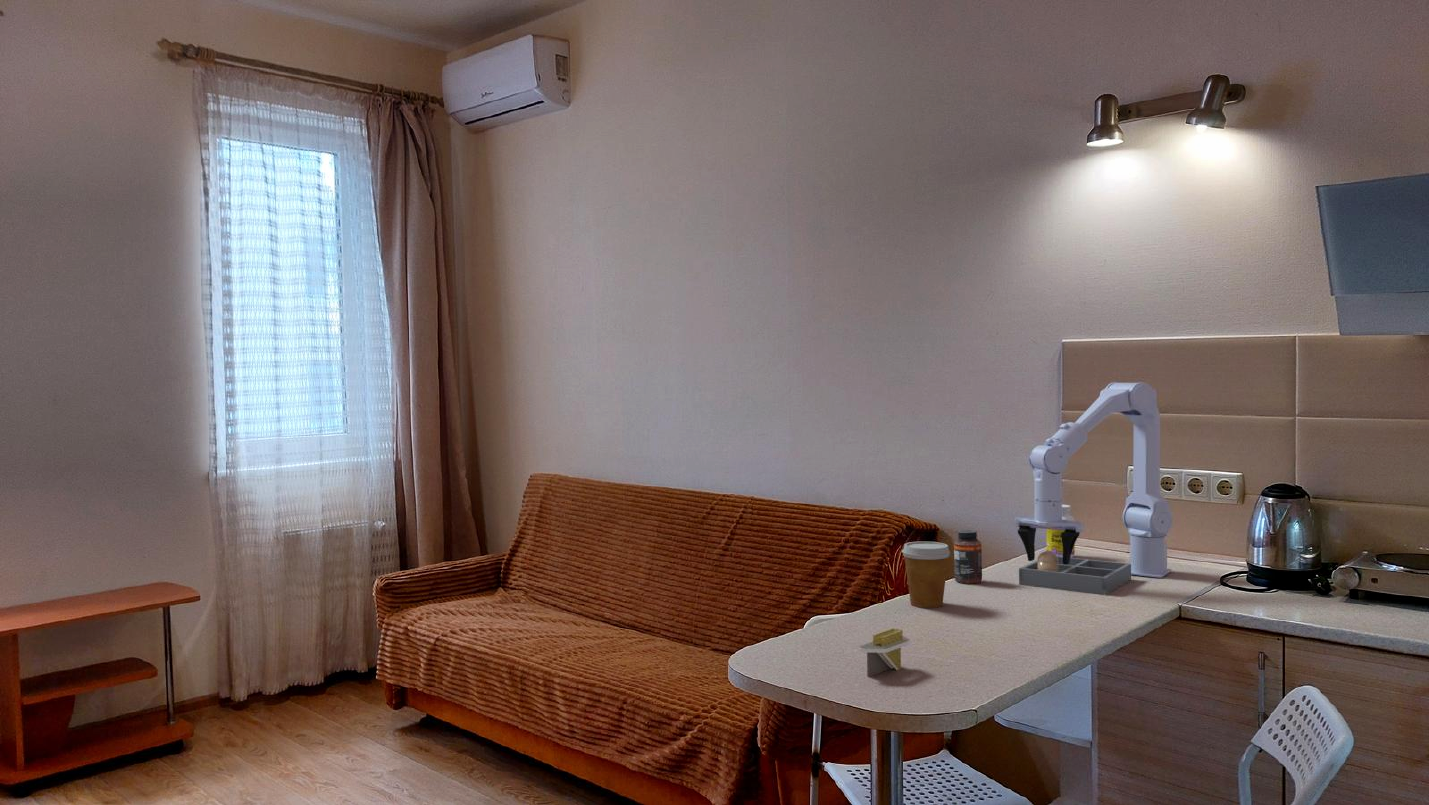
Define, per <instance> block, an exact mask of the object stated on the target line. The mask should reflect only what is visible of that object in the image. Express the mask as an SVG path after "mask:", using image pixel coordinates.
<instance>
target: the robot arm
mask: <svg viewBox="0 0 1429 805" xmlns="http://www.w3.org/2000/svg"><path fill="white" fill-rule="evenodd" d="M1099 393H1100V394H1099V396H1098V398H1097V399H1096V400H1095V401H1094V402H1093V403H1092V404H1091V405H1090V406H1089V407H1088V408H1087V409H1086V410H1085V411H1084V413H1083V414H1082V415H1081V416H1080V417H1078V419H1076V421H1075V422H1071V421H1069V422H1066V423H1062V424H1061V425H1059V428H1060V429H1058V431H1056V432H1055V433H1054V434H1053V435H1052V436H1051V437H1050V438H1047V439H1046V440H1045V442H1044V444H1040V445H1037V446H1035V447H1034V448H1033V449H1032V451H1031V453H1030V455H1029V457H1028V458H1027V461H1028V464H1029V466H1030V468H1031V469H1032V477H1034V479H1033V480H1034V482H1033V483H1034V490H1033V491H1034V493H1033V495H1034V497H1033V498H1034V517H1021V516H1019V517H1015V518H1014V522H1013V523H1014V528H1018V529H1017V534H1018V535H1019V537H1020V539H1021V541H1022V544H1023V546H1024V549H1025V553H1026V557H1027V561H1028V562H1034V561H1035V559H1036V550H1035V548H1036V547H1035V543H1036V542H1035V541H1036V540H1035V539H1036V531H1037V529H1042V530H1045V529H1046V530H1047V529H1053V530H1065V532H1062V533H1061V537H1062V544H1063V565H1067V564H1069V561H1070V556H1071V553H1072V549H1073V547H1074V544H1075V545H1076V542H1077V541H1078V538H1079V536H1080V533H1082V532H1084V522H1082V521H1081V522H1080V521H1075V522H1074V521H1067V520H1062V505H1063V481H1062V480H1063V476H1062V475H1063V471H1064V470H1066V469H1067V467H1068V464H1069V459H1071V457H1072V455H1073V454H1075V453H1076V452H1077V451H1078V450H1079V449H1080V448H1081V447H1082V446H1083V445H1084V444H1085V443H1086V442H1088V433H1089V432H1090V431H1092V430H1093V429H1094V428H1095V427H1097V426H1098V425H1099V424H1100V423H1101V422H1103V421H1105V419H1107V418H1108V417H1109V416H1110V415H1111V414H1113V413H1120V414H1121V415H1124V417H1126V418H1127V419H1128V420H1129V421H1131V422H1132V423H1133V424H1132V425H1133V469H1132V470H1133V472H1132V474H1133V475H1132V476H1133V479H1132V480H1133V482H1132V483H1133V485H1132V486H1133V487H1132V488H1133V490H1132V493H1131V494H1129V495H1128V497H1126V498H1125V506H1124V510H1123V512H1122V516H1121V517H1122V522H1123V525H1124V527H1125V528H1126V529H1127V533H1128V534H1129V559H1130V560H1129V564H1131V576H1138V577H1140V576H1142V577H1148V578H1149V577H1150V578H1158V579H1162V578H1163V577H1165V576H1167V575H1168V574H1170V573H1171V572H1172V571H1173V569H1172V568H1168V543H1167V540H1166V537H1167V536H1168V533H1170V531H1171V529H1172V526H1173V522H1174V521H1173V515H1172V513H1171V510H1170V502H1169V501H1168V500H1167V499H1166V498H1165V497H1164V496H1163V495H1162V493H1161V490H1160V487H1161V485H1160V484H1161V481H1160V480H1161V478H1160V477H1161V474H1160V473H1161V460H1160V459H1161V414H1160V411H1159V408H1158V404H1157V396H1158V394H1157V391H1156V389H1154V388H1153V387H1152V386H1151V385H1150V384H1148V383H1147V382H1143V381H1142V382H1141V381H1140V382H1118V381H1114V382H1113V381H1112V382H1110V383H1109V384H1107V386H1106V387H1105V388H1103V389H1102V390H1101V391H1099ZM1049 526H1056V527H1049ZM1061 527H1062V528H1061Z"/></svg>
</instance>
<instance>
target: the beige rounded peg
mask: <svg viewBox="0 0 1429 805" xmlns="http://www.w3.org/2000/svg"><path fill="white" fill-rule="evenodd" d="M1036 561H1037V570H1045V571H1054V572H1059V561H1058V557H1057V556H1056V555H1055V554H1054V553H1053V552H1050V551H1047V550H1044V551H1042V552H1041V553H1040V554H1039V555H1038V556H1037V560H1036Z"/></svg>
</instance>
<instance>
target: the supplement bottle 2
mask: <svg viewBox="0 0 1429 805" xmlns="http://www.w3.org/2000/svg"><path fill="white" fill-rule="evenodd" d="M1071 510H1072V509H1071V505H1069V504H1062V520H1067V521H1074V522H1076V520H1075V518H1074V516H1072V515H1071V514H1070V513H1071ZM1049 527H1056V526H1049ZM1061 528H1062V527H1061ZM1062 532H1065V530H1053V529H1046V550H1045V551H1050V552H1053V553H1054V554H1055V555H1056V556H1059V557H1063V544H1062V537H1061V533H1062ZM1075 545H1076V543H1075V544H1074V547H1073V549H1072V553H1071V556H1070V558H1075V552H1076V550H1075V548H1076V547H1075Z"/></svg>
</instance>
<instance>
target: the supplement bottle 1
mask: <svg viewBox="0 0 1429 805" xmlns="http://www.w3.org/2000/svg"><path fill="white" fill-rule="evenodd" d="M957 533H958V535H957V540H955V541H954V542H953V554H954V558H953V559H954V561H953V562H954V563H953V564H954V581H955V582H957V583H959V584H960V583H961V584H967V585H968V584H969V585H971V584H978V583H979V584H980V583H981V582H982V581H983V559H982V558H983V557H982V555H983V553H982V550H983V549H982V542H981V541H980V540H978V538H977V537H978V534H977V530H975V529H959V530H958V531H957Z"/></svg>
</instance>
